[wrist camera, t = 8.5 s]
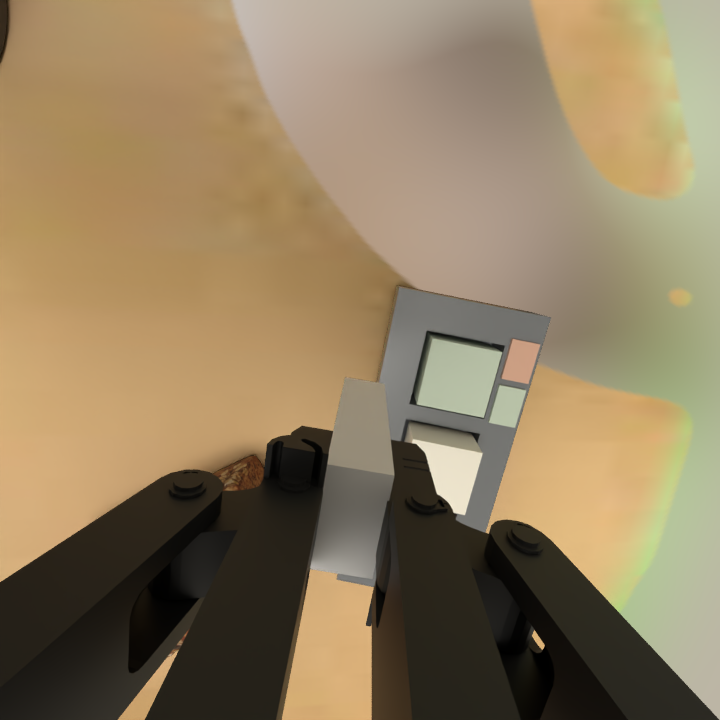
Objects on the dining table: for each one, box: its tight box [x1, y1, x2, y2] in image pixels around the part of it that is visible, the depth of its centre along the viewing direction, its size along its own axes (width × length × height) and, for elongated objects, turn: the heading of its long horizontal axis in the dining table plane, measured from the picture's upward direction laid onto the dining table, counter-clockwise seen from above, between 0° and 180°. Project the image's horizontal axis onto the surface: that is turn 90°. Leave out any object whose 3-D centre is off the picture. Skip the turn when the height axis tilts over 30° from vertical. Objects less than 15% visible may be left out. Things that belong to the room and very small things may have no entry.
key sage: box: [413, 331, 502, 418], centre depth 30 cm, size 5×5×4 cm
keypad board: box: [337, 285, 551, 587], centre depth 33 cm, size 25×11×4 cm, turn 169°
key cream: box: [404, 421, 483, 515], centre depth 30 cm, size 5×5×4 cm
